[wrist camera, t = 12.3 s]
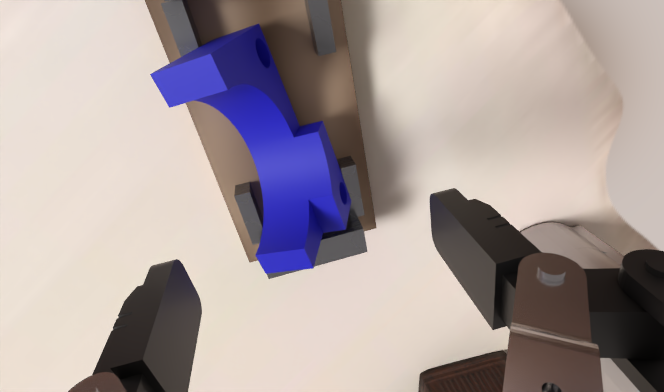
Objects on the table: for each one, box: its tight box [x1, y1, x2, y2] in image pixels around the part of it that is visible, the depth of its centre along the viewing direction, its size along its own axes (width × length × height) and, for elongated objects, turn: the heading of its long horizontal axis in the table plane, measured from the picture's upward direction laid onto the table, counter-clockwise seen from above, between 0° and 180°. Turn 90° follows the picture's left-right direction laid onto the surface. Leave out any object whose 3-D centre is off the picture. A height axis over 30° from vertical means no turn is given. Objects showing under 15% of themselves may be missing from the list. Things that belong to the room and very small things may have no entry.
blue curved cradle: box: [150, 24, 351, 274], centre depth 20 cm, size 12×4×6 cm, turn 18°
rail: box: [145, 0, 376, 279], centre depth 22 cm, size 10×20×4 cm, turn 11°
